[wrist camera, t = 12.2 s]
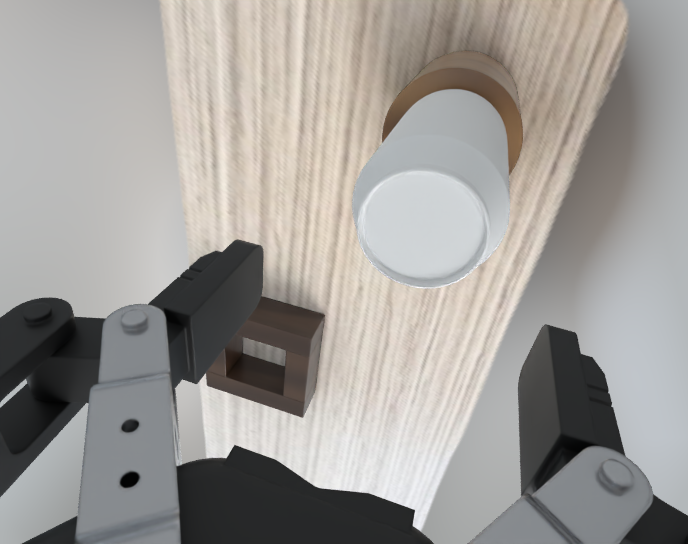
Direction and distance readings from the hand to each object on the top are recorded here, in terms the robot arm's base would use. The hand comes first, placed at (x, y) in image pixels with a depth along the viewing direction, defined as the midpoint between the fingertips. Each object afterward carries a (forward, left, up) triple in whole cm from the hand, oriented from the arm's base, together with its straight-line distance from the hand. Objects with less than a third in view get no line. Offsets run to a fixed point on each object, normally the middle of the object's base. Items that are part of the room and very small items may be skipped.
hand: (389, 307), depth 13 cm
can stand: (+31, -6, -25) cm, 40 cm away
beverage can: (0, 0, -17) cm, 17 cm away
